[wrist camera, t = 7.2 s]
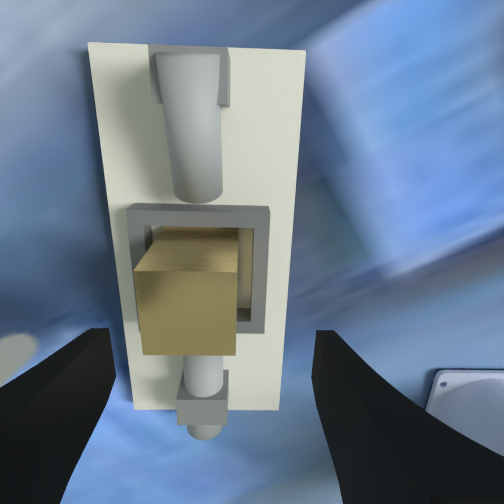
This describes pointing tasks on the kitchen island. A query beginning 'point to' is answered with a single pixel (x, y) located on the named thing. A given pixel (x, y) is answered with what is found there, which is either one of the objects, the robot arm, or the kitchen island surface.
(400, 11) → the kitchen island surface
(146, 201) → the coupling stand
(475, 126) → the kitchen island surface
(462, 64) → the kitchen island surface
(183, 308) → the block
